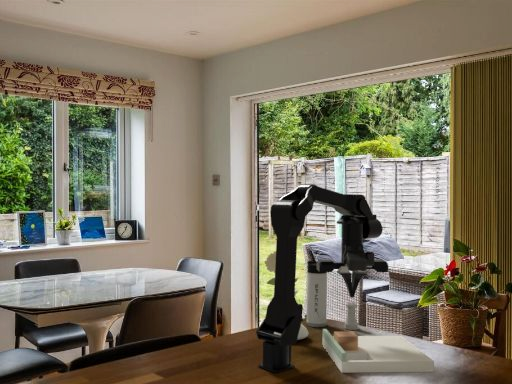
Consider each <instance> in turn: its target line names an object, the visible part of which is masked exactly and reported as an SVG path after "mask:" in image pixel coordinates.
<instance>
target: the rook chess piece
mask: <svg viewBox="0 0 512 384" xmlns="http://www.w3.org/2000/svg"><path fill="white" fill-rule="evenodd" d="M345 306H346V308H347V309H346V312H347V313H346V319H345V321H344V326H343V327H344V329H345V330H347V329H349V330H348V331H357V330H358V329H359V323H358V321H357V318H356V317H357V315H356V311H357V310H356V308H357V303H356V302H355V301H348V302H347V303H346V305H345Z"/></svg>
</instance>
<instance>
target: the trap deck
mask: <svg viewBox="0 0 512 384" xmlns="http://www.w3.org/2000/svg"><path fill="white" fill-rule="evenodd" d="M357 336H358V351H344V350H343V349H342V348H341V346H340V345H339V344H338V343H337V341H336V340H335V339H334V335H332V334H331V333H330V331H329V330H328V329H327V328H322V340H321V341H322V345H323V346H322V347H323V348H324V350H325V349H326V350H325V351H326V352H328V353H327V354H328V356H329V357H330V358H331V360H332V361H333V362H335V363H334V364H335V365H336V367H337V368H338V369H339V370H338V371H340V373H341V374H342V373H343V374H344V373H348V374H349V373H420V372H421V373H432V372H435V360H433V359H432V358H431V357H430V356H428V355H427V354H426V353H424V352H423V351H421V350H420V349H419V348H418V347H416V346H415V345H413V343H411V342H410V341H408V340H407V339H406V338H404V337H403V336H402V335H357Z"/></svg>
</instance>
